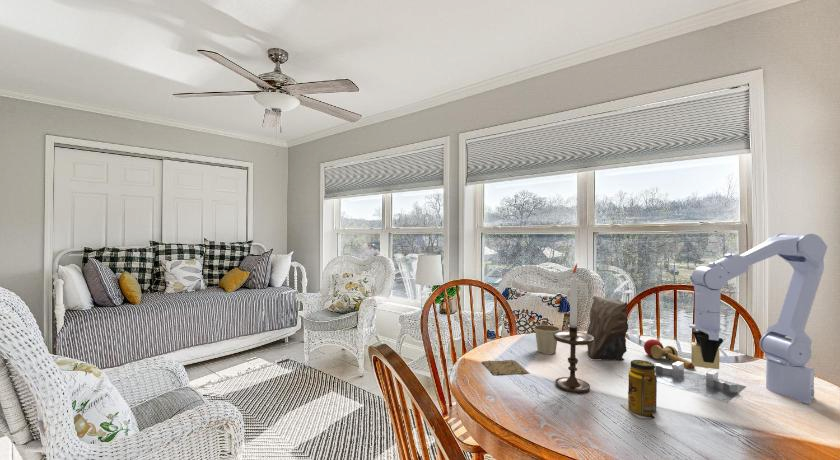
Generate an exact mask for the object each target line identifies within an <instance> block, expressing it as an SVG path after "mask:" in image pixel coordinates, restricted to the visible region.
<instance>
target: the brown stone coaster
mask: <svg viewBox="0 0 840 460" xmlns="http://www.w3.org/2000/svg"><path fill="white" fill-rule="evenodd" d="M481 364H482V365H483V366H484V367H485V368H486V369H487V371H488V372H489V373H490V374H491V375H492V376H510V375H511V376H512V375H515V376H516V375H530V372H529V371H528V370H527V369H525V368H524V366H522V365H521V364H519V363H518V362H517V361H516V360H514V359H506V360H505V359H504V360H485V361H481Z"/></svg>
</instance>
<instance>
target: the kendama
mask: <svg viewBox="0 0 840 460" xmlns="http://www.w3.org/2000/svg"><path fill="white" fill-rule="evenodd" d="M643 349H644V352H645V353H646V354H647V355H648V356H650V357H652V358H654V359H656V360H659V359H661V358H665V359H666V360H667V361H671V362H673V363H675V362H677V361H679V362H683V363H684V369H685V370H689V369H692V370H694V369H695V368H696V367H695V366H694V365H693V364H692V362H691V361H689V360H686V359H684V358H682V357H680V356H678V350H677V348H676V347H674V346H671V345H666V346H665V347H664V345H663V344H662V342H661V341H659V340H657V339H653V338H651V339H648V340H646V342H644V344H643Z"/></svg>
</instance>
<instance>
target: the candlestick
mask: <svg viewBox="0 0 840 460" xmlns="http://www.w3.org/2000/svg"><path fill="white" fill-rule="evenodd" d="M577 268H578V263H576V264H575V265H574V268H573V270H572V273H573V274H572V277H571V278H570V286H569V287H570V291H569V292H570V293H569V294H570V295H569V298H570V299H569V300H570V301H569V303H570V304H569V324H565V327H566V328H569V330H560V331H556V332H554V333H553V339H555V340H556V341H557V342H559V343H562V344H567V345H570V351H569V352H570V354H569V355H570V356H569V357H567V362H568V364H569V366H568V367H567V369H568V370H569V376H566V377H564V376H563V377H558V378H557V379H555V387H556V388H557V389H559V390H561V391H564V392H567V393H570V394H571V393H572V394H585V393H589V392H590V390H591V385H590V384H589V383H588V382H587V381H585V380H582V379H579V378H577V377H576V372H577V371H578V367H576V365H577V364H578V363H579V359H578V358H577V357H576V350H577V349H576V346H587V345H590V344H593V343H594V337H593V336H592V335H590V334H587V332H583V331H578V329H581V328H582V327H581V326H580V325H578V285H579V284H578V280H579V279H578V278H577V276H576V271H577Z"/></svg>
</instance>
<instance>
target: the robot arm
mask: <svg viewBox="0 0 840 460" xmlns="http://www.w3.org/2000/svg"><path fill="white" fill-rule="evenodd" d="M827 249H828V245H827V243H825V241H824V240H823V238H822V237H821V236H819V235H818V234H815V233H802V234H801V233H783V232H782V233H781V232H780V233H777V234H775V235H774V236H770V237H768V239H767V240H765V241H764V242H761V243H760V244H758V245H756V246H754V247H753V248H751V249H749V250H747V251H746V252H744V253H741V254H738V253H725V254H723V256H724V257H723V258H721V259H718V260H716V261H711V262H709V263H708V265H707V266H698V267H696V268H694V270H693V271H692V272H691V275H689V280H690V282H691V283H692V284H693V290H694V324H691V323H690V324H688V325H689V328H691V329H692V330H691V332H692V334H693V337H694V339H695V343H700V345H701V350H702V357H703V360H704V362H709V363H714V360H715V357H716V353H717V350H718V348H719V349H720V346H721V345H722V344H723V342H724V339H723V338H721V337H720V333H721V332H722V328H721V299H722V298H721V295H722V294H721V293H722V292H721V291H722V290H721V289H723V288H724V287H725V286H726V284H727V283H728V281H730V280H733V279H735V278H736V277H739V276H741V275H743V274H746V273H747V272H748V271H749V270H750V266H752V265H754V264H756V263H759V262H761V261H764V260H766V259H767V260H768V259H769V258H772V257H774V256H778V257H779V258H781V259H783V260H784V261H785V262H786V263H788V264H789V265H790V267H791V268H792V269H793V273H792V276H791V280H790V282H789V285H788V287H787V291H786V294H785V298H784V300H783V303H782V307H781V310H780V313H779V315H778V316H779V317H778V319H777V322H776V323H775V324H772V325H770V326H768V327H767V328H766V332H764V334H763V335H762V336H761V338H760V339H759V344H758V345H759V348H760V350H761V351H762V352H763V353H764V358H766V366H765V367H766V369H765V370H766V371H765V372H766V373H765V374H766V375H765V377H766V378H765V388H766V390H768V391H769V392H771V393H774V394H778V395H781V396H787V397H790V398H793V399H795V400H796V401H798V402H800V403H803V404H806V405H810V403H811V402H812V401H813V399H814V398H815V370H814V368H813V367H811V366H807V365H806V364H807V363H809V361H810V360H811V359H812V349H811V346H812V342H813V340H812V339H811V337H810V336H809V335H808V334H807V332H806V331H805V329H806V325H807V323H808V319H809V316H810V313H811V310H812V308H813V307H812V306H813V304H814V301H815V298H816V295H817V292H818V288H819V286H820V282H821V279H822V276H823V273H824V271H825V270H824V269H825V263H824V259H825V255H826V252H827Z"/></svg>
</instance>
